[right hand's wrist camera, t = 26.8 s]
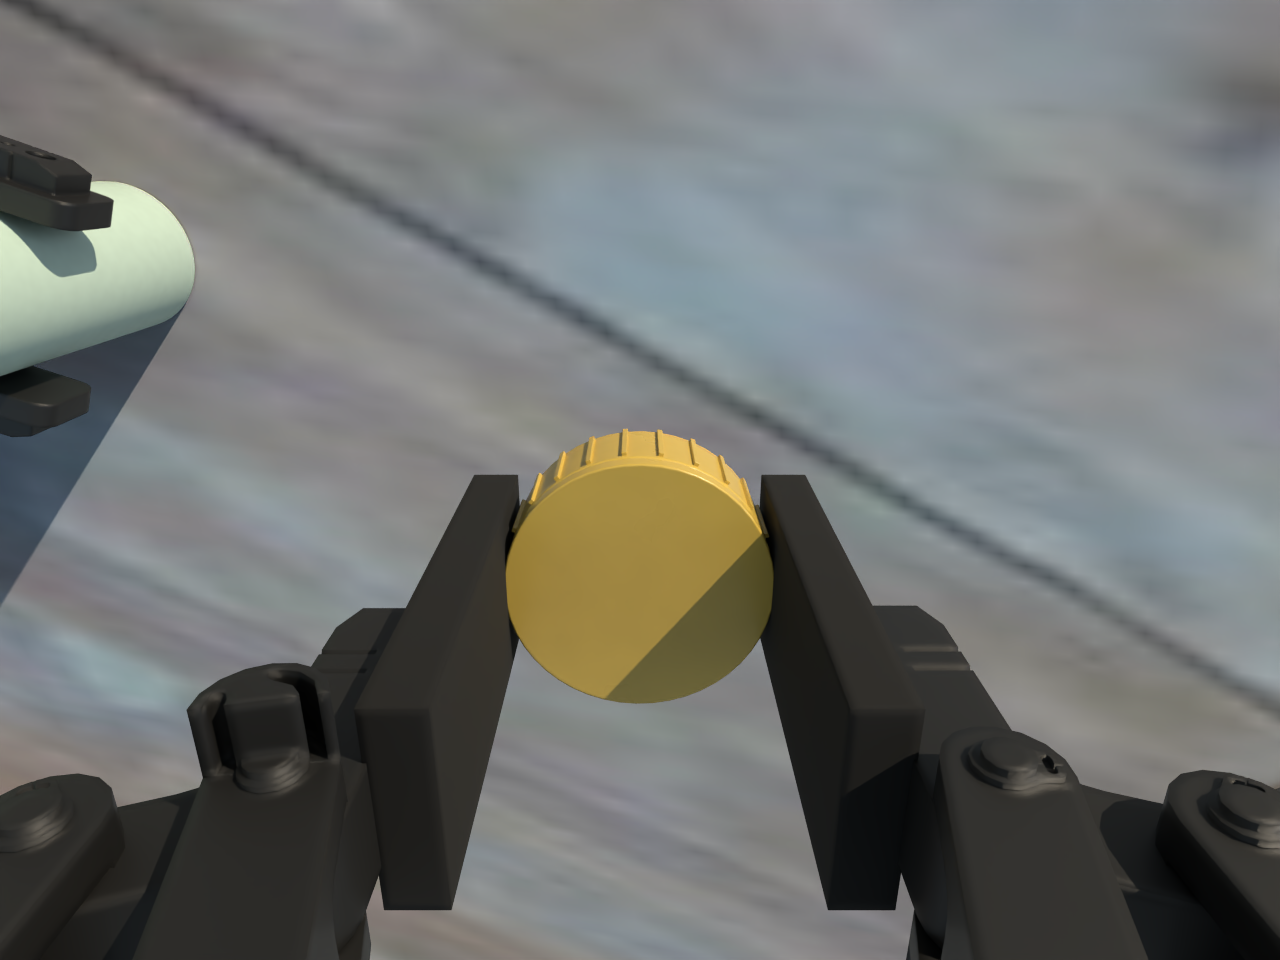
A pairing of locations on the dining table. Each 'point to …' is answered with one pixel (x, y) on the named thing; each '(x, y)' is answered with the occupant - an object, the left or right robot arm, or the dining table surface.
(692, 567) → the cap
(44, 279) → the bottle
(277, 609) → the dining table surface
